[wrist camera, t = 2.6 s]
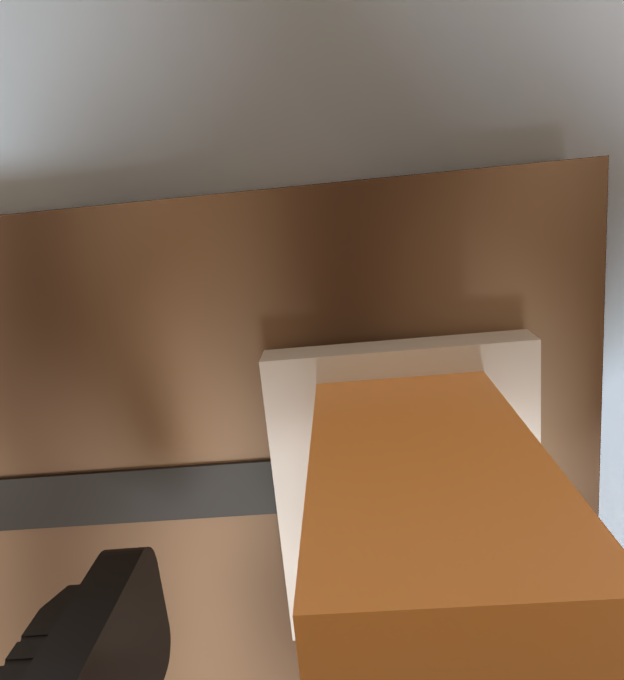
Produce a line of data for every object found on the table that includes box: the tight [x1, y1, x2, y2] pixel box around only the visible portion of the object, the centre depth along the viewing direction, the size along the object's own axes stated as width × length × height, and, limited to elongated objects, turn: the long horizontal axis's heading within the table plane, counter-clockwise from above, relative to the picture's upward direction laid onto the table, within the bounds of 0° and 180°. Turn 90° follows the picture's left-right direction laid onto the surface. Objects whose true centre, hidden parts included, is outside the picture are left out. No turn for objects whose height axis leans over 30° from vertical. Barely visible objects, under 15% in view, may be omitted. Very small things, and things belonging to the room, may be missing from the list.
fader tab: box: [259, 329, 624, 680], centre depth 9 cm, size 5×6×7 cm
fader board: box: [0, 155, 609, 680], centre depth 14 cm, size 22×12×2 cm, turn 95°
